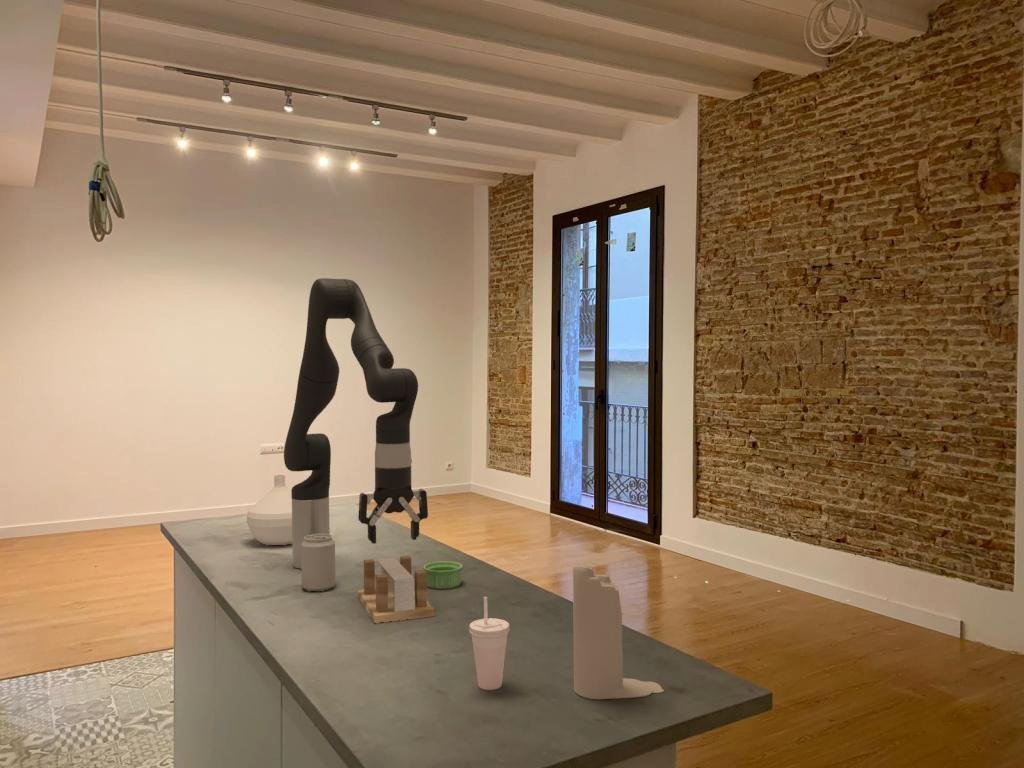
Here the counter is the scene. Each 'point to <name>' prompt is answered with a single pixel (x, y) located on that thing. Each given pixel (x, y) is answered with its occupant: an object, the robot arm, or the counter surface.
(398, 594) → the pale beige plank
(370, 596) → the rack
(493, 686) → the smoothie
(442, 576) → the ramekin
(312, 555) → the can
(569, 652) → the counter surface
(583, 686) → the candle
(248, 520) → the vase
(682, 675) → the counter surface
